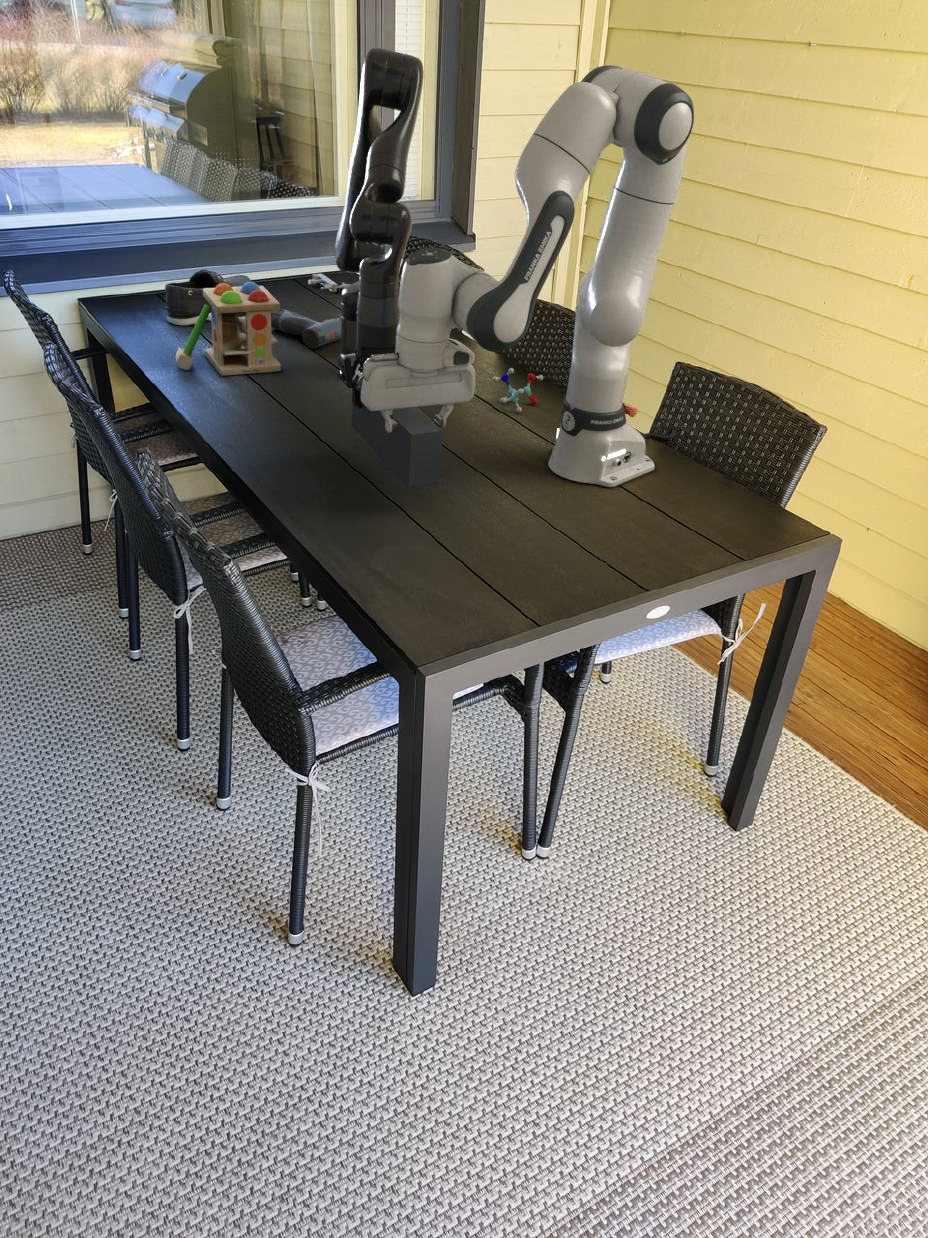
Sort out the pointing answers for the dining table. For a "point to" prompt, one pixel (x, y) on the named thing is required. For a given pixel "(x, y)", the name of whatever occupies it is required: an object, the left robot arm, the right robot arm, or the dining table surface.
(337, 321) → the power drill
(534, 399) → the molecular model
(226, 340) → the pounding bench toy
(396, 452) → the box
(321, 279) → the clamp
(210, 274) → the boat shoe
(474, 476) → the dining table surface
